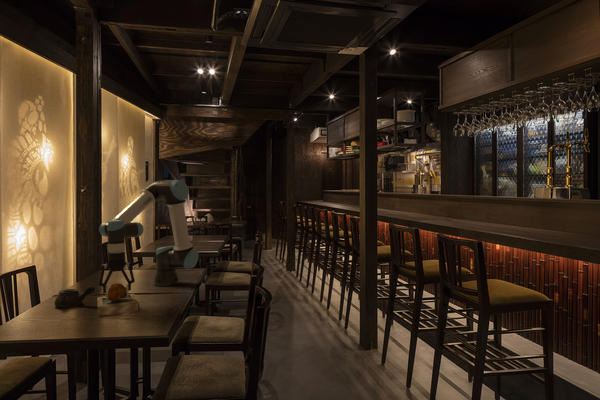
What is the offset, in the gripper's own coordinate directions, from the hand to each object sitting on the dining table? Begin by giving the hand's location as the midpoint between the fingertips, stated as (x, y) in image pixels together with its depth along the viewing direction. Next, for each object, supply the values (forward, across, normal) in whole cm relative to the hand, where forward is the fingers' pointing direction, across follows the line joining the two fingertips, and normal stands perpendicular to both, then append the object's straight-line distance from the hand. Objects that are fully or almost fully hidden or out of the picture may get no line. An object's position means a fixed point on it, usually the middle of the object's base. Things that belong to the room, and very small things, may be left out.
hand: (117, 298), depth 199 cm
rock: (+1, 0, -1) cm, 1 cm away
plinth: (+5, 0, 0) cm, 5 cm away
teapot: (+5, +19, -15) cm, 25 cm away
